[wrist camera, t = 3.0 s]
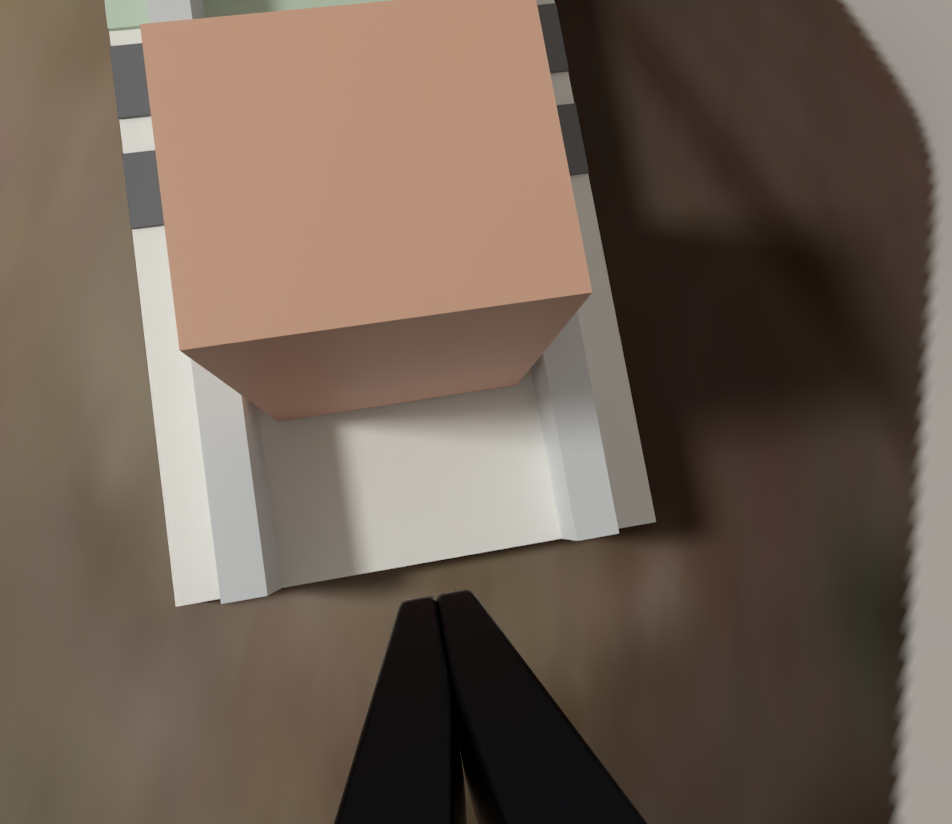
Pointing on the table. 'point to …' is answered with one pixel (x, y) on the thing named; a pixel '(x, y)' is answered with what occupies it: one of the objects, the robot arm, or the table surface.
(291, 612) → the table surface
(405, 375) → the slider block
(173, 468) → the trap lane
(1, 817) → the table surface
